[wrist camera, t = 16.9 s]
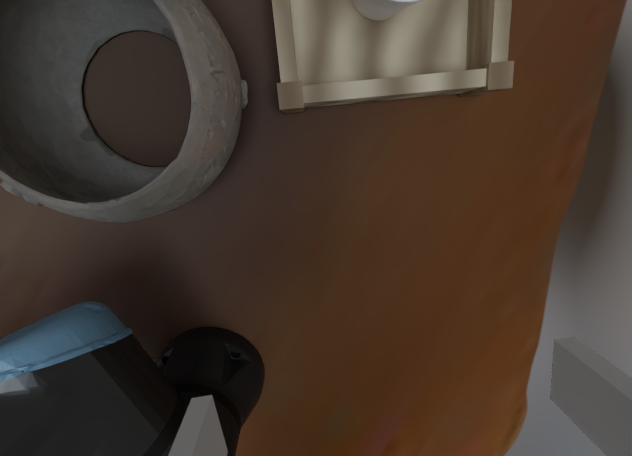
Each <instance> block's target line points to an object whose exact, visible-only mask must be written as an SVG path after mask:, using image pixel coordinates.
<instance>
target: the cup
mask: <svg viewBox="0 0 632 456" xmlns="http://www.w3.org/2000/svg"><path fill="white" fill-rule="evenodd" d="M418 1H422V0H352V3H353V4H354V6H355V8H356V9H357V11H358V12H359V13H360V14H361V15H363V16H364V17H366V18H368V19H370V20H374V21H381V20H386V19H388V18H391V17H392V16H394V15H396V14H397V13H399V12H401V11H403V10H404V9H406V8H408V7H409V6H411V5H413V4H414V3H416V2H418Z"/></svg>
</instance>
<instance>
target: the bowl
mask: <svg viewBox="0 0 632 456" xmlns="http://www.w3.org/2000/svg"><path fill="white" fill-rule="evenodd" d="M134 30H141V31H150V32H154V33H157V34H160V35H163V36H166V37H167V38H169V39H171V40H172V41H174V42H176V43H177V44H178V45H179V47H180V50H181V53H182V56H183V60H184V63H185V67H186V70H187V74H188V79H189V84H190V91H191V115H190V120H189V125H188V130H187V135H186V137H185V140H184V142H183V144H182V147H181V149H180V151H179V154H178V156H177V158H176V159H175V160H173V161H172V162H171V163H170V164H169V165H168V166H167V167H149V166H143V165H139V164H136V163H134V162H131V161H129V160H126V159H125V158H123V157H121V156H120V155H118V154H116V153H115V152H113V151H112V150H111V149H110V148H109V147H107V146H106V145H105V144H104V143H103V142H102V140H101V139H100V138H99V137H98V136H97V135H96V133H95V132H94V130H93V128H92V126H91V124H90V123H89V121H88V118H87V116H86V113H85V111H84V108H83V100H82V82H83V75H84V72H85V70H86V67H87V64H88V62H89V61H90V59H91V58H92V56H93V55H94V53H95V52H96V50H97V49H98V48H99V47H100V46H101V45H102V44H104V43H105V42H106V41H108V40H109V39H110V38H112V37H114V36H116V35H118V34H120V33H123V32H129V31H134ZM247 90H248V88H247V83H246V81H245V80H242V79H241V76H240V71H239V67H238V64H237V61H236V58H235V55H234V52H233V50H232V48H231V46H230V44H229V42H228V41H227V39H226V37H225V35H224V33H223V31H222V30H221V28H220V26H219V24H218V23H217V21H216V20H215V18H214V17H213V15H212V14H211V12H210V11H209V9H208V8H207V7H206V6H205V4H204V3H203V2H202V0H0V178H1V179H2V180H3V181H2V182H1V183H0V185H1V186H2V187H3V188H4V189H5V190H7V191H8V192H10V193H12V194H13V195H15V196H17V197H23V198H24V199H25V200H26V201H27V202H30V203H32V204H35V205H38V206H46V207H50V208H52V209H54V210H55V211H58V212H62V213H65V214H68V215H73V216H77V217H80V218H84V219H90V220H97V221H103V222H120V223H122V222H133V221H137V220H142V219H146V218H150V217H154V216H157V215H161V214H163V213H166V212H168V211H171V210H174V209H176V208H178V207H180V206H183V205H185V204H187V203H188V202H190V201H191V200H193V199H194V198H196V197H197V196H199V195H200V194H201V193H203V192H204V191H205V190H206V189H207V188H208V187H209V186H210V185H211V184H212V183H213V182H214V181H215V180H216V178H217V177H218V176H219V174H220V173H221V171H222V170H223V169H224V167H225V166H226V164H227V162H228V160H229V158H230V156H231V154H232V152H233V150H234V147H235V144H236V141H237V137H238V134H239V129H240V123H241V114H242V108H244V109H245V107H246V105H247V103H248V98H247Z"/></svg>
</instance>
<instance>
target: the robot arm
mask: <svg viewBox="0 0 632 456" xmlns="http://www.w3.org/2000/svg"><path fill="white" fill-rule="evenodd" d="M132 333H133V331H132V330H131V329H130V328H127V327H126V326H125V325H124V324H123V323H122V322H121V321H120V320H119V318H118V317H117V316H116V315H115V314H114V313H113V312H112V311H111V310H110V308H109V307H107V306H106V305H105V304H103V303H100V302H96V301H87V302H82V303H78V304H75V305H73V306H70V307H68V308H66V309H63V310H61V311H59V312H56V313H54V314H52V315H50V316H47V317H45V318H43V319H41V320H39V321H37V322H35V323H32V324H30V325H28V326H26V327H24V328H22V329H20V330H18V331H16V332H14V333H12V334H10V335H8V336H5V337H3V338H1V339H0V456H235V453H236V448H237V444H238V438H239V434H240V430H241V427H242V426H243V424H244V423H245V421H246V420H247V418H248V417H249V415H250V413H251V412H252V410H253V408H254V407H255V405H256V404H257V402H258V400H259V398H260V395H261V392H262V388H263V382H264V366H263V362H262V359H261V357H260V355H259V353H258V352H257V350H256V349H255V348H254V347H253V346H252V345H251V344H250V343H249V342H248V341H247V340H246V339H244V338H243V337H241V336H239V335H237V334H235V333H233V332H231V331H228V330H224V329H219V328H198V329H194V330H190V331H187V332H185V333H183V334H181V335H179V336H178V337H176V338H175V339H174V340H173V341H171V343H170V344H169V345H168V346H167V347H166V349H165V350H164V352H163V353H162V355H161V356H160V358H159V360H158V362H157V364H155V362H154V361H153V360H152V359H151V358H150V356H149V355H148V354H147V352H146V351H145V350H144V349H143V347H142V346H141V345H140V343H139V342H138V341H137V339H136V338H135V337H134V335H133V334H132ZM550 399H551V400H552V401H553V402H554V403H555V404H556V405H557V406H558V407H559V408H560V409H561V410H562V411H563V412H564V413H565V414H566V415H567V416H568V417H569V418H570V419H571V420H572V421H573V422H574V423H575V424H576V425H577V426H578V427H579V428H580V429H581V430H582V431H583V432H584V433H585V434H586V435H587V436H588V437H589V438H590V439H591V441H593V443H594V444H596V446H597V447H598V448H600V450H601V451H602V452H603V453H604V454H605V455H606V456H632V378H631V377H630V376H628V375H627V374H626V373H624V372H623V371H621V370H620V369H619V368H617V367H616V366H614V365H613V364H611V363H610V362H609V361H607V360H606V359H605V358H603V357H602V356H600V355H599V354H597V353H596V352H595V351H593V350H592V349H590V348H589V347H588V346H586V345H585V344H583V343H582V342H581V341H579V340H578V339H576V338H575V337H568V338H562V339H556V340H554V349H553V364H552V379H551V394H550Z"/></svg>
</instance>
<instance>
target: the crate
mask: <svg viewBox="0 0 632 456" xmlns="http://www.w3.org/2000/svg"><path fill="white" fill-rule="evenodd" d="M511 5H512V0H422V1H418V2H416V3H414V4H413V5H411V6H409V7H408V8H406V9H404V10H403V11H401V12H399V13H397V14H396V15H394V16H392V17H391V18H388V19H386V20H381V21H374V20H370V19H368V18H366V17H364V16H363V15H361V14H360V13H359V12H358V11H357V9H356V8H355V6H354V4H353V3H352V0H272V7H273V16H274V25H275V34H276V43H277V52H278V61H279V70H280V79H281V83H277V91H278V100H279V109H280V111H282V112H283V113H284V114H287V113H297V112H305V111H304V108H311V107H322V106H332V105H343V104H353V103H364V102H375V101H385V100H396V99H406V98H417V97H427V96H438V95H449V94H458V97H466V96H477V95H482V94H487V93H491V92H496V91H500V90H504V89H509V88H512V84H513V70H514V61H508V48H509V34H510V20H511Z"/></svg>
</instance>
